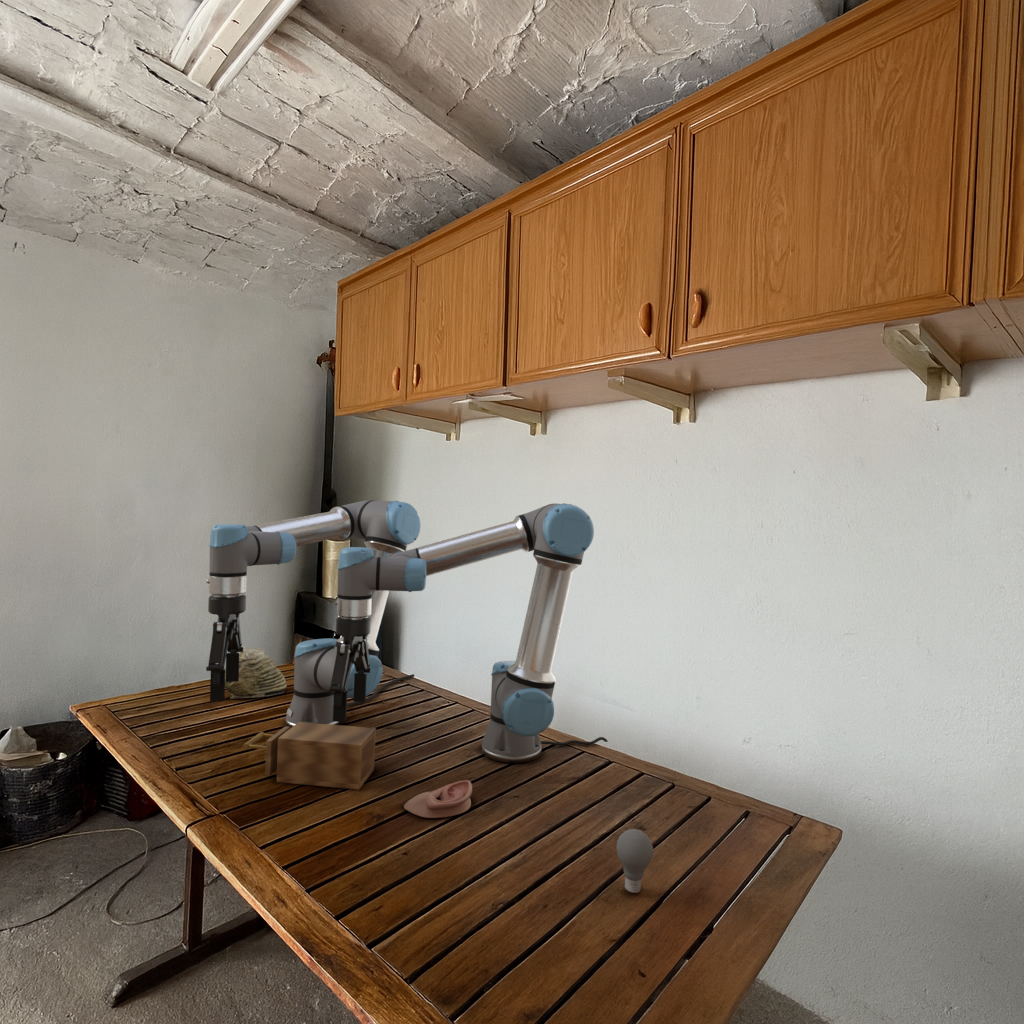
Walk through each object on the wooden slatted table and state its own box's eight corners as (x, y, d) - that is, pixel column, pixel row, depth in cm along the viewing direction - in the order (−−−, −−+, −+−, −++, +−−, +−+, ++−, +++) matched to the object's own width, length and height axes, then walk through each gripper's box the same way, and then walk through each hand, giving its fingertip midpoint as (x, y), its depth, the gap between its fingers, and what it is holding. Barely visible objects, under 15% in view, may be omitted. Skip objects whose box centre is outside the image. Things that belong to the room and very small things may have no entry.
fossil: (218, 695, 195) (220, 647, 195) (278, 685, 208) (279, 640, 207) (228, 703, 189) (230, 653, 188) (289, 692, 201) (290, 645, 201)
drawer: (239, 772, 141) (241, 738, 141) (260, 756, 150) (261, 724, 150) (340, 781, 139) (341, 747, 139) (355, 764, 148) (356, 732, 148)
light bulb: (610, 879, 108) (613, 822, 108) (644, 879, 109) (647, 822, 109) (619, 902, 102) (622, 840, 102) (655, 901, 103) (658, 840, 103)
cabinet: (276, 782, 140) (277, 738, 139) (297, 762, 150) (298, 721, 150) (358, 789, 138) (360, 745, 137) (374, 769, 148) (375, 728, 148)
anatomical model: (398, 794, 127) (418, 771, 139) (398, 814, 128) (417, 789, 139) (462, 803, 125) (477, 779, 136) (461, 823, 125) (476, 797, 136)
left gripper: (223, 586, 150) (220, 674, 151) (192, 604, 126) (190, 710, 127) (256, 586, 152) (254, 673, 152) (232, 604, 127) (230, 709, 128)
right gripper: (355, 606, 154) (351, 692, 155) (316, 626, 129) (312, 729, 130) (385, 608, 154) (381, 695, 154) (351, 628, 129) (347, 732, 129)
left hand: (225, 690), depth 140 cm, fingers open, 13 cm apart
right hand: (350, 711), depth 142 cm, fingers open, 13 cm apart
